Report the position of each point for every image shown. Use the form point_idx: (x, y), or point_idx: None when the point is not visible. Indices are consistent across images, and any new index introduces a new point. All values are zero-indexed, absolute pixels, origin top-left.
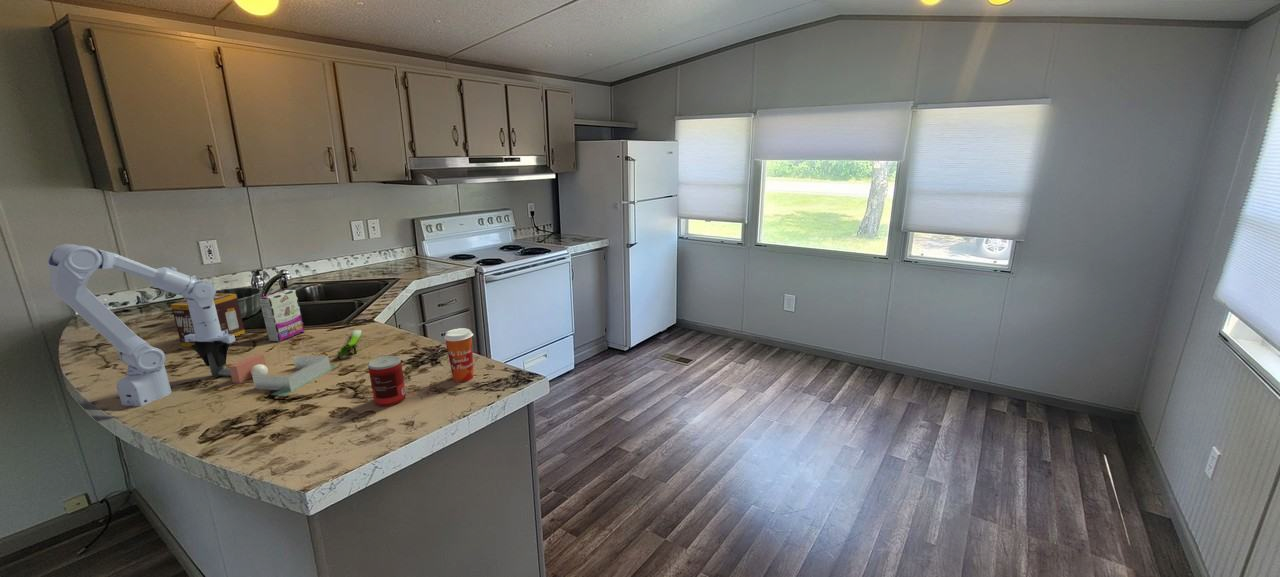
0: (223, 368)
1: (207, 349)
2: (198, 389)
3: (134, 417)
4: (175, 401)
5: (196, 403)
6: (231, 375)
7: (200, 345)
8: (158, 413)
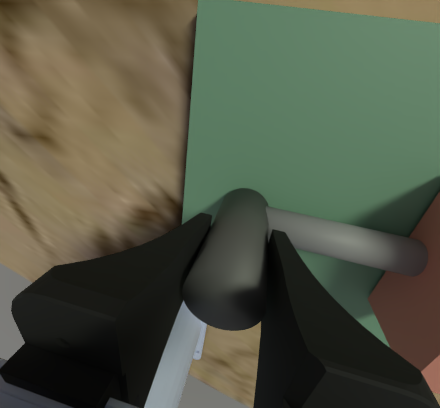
0: (268, 221)
1: (166, 311)
2: None
3: (205, 373)
4: (231, 331)
5: None
6: (383, 329)
7: (135, 404)
8: (244, 373)
